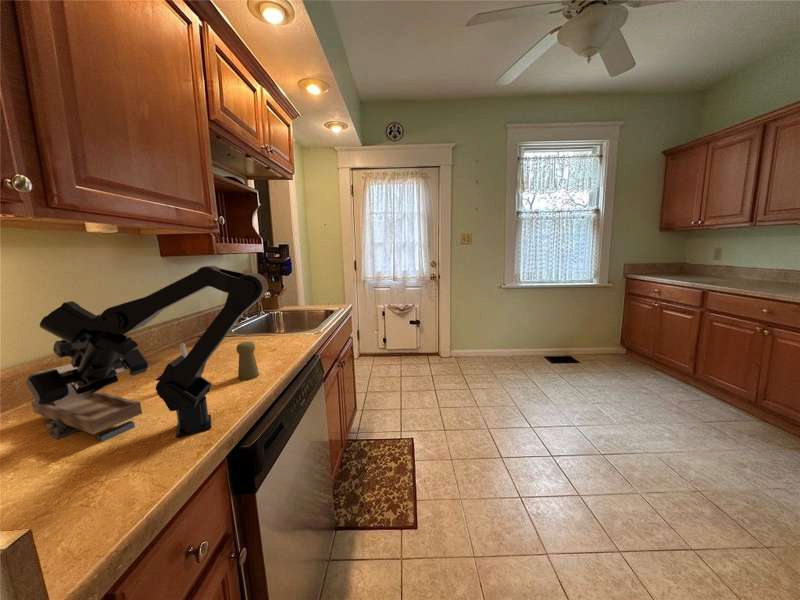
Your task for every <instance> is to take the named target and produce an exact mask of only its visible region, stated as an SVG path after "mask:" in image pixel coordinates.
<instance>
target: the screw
mask: <svg viewBox="0 0 800 600" xmlns="http://www.w3.org/2000/svg"><path fill="white" fill-rule="evenodd" d="M179 346H180V347H179V349H180V356H181V355H182V356H183V357H186V356H187V355H188V354H189V353H188V350H187V348H186V343H184V342H182V343H180V344H179Z"/></svg>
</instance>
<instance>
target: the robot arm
mask: <svg viewBox="0 0 800 600" xmlns="http://www.w3.org/2000/svg"><path fill="white" fill-rule="evenodd" d="M208 287H211V288H214V289H216V290H219V291H221V292H223V293H227V295H226V296H227V297H226V299H225V303H224V306H223V307H222V308H221V310H220V311H219V312H218V314H217V315H216V316H215V318H214V319H213V320H212V322H211V323H210V324H209V326H208V327H207V328H206V330H205V331H204V332H203V334H202V335H201V336H200V338H199V339H198V340H197V341H196V343H195V344H194V345H193V347H192V349H191V350H190V351H189V352H188V353H187V354H188V355H187V356H186V357H183V356H182V355H181V354H180V355H179V356H177V358H175V359H174V360H172V361H170V362H169V363H168V364H167V365H166V367H165V368H164V370H163V372H162V374H161V375H159V376H158V377H156V379H155V380H156V381H157V383H156V385H155V391H156V394H157V396H159V398H160V399H162V401H163V402H164V404H165V406H167V408H168V410H169V412H176V417H177V423H176V430H175V431H176V432H175V437H176V438H180V437H184V436H188V435H191V434H194V433H195V434H196V433H199V432H203V431H208V430H210V429H211V428H212V415H211V414H209V409H208V403H207V401H208V400H207V397H206V395H207V394H208V393H210V391H211V388H212V383H211V382H210V381H209V380H207V379H206V378H204V377H202V374H203V373H204V370H205V366H206V364H207V362H208V361H209V359H210V358H211V357H212V355H213V354H214V353H215V351H216V350H217V348H218V347H219V346H220V345H221V343H222V342H223V341H224V339H225V338H226V336H227V335H228V334H229V333H230V331H231V330H232V329H233V328H234V326H235V325H236V323H237V322H238V321H239V319H240V318H241V317H242V316H243V314H244V313H246V312H247V311H248V310H249V309H250V308H251V307H252V306H254V305H255V304H256V303H257V302H258V301H259V300H260V299H261V298H263V297H264V296H265V295H266V294H267V292H268V290H269V284H268V280H267V279H266V277H265V276H264V275H263V274H261V273H257V272H252V273H251V272H249V273H244V272H240V271H234V270H230V269H224V268H221V267H218V266H215V265H206V266H205V265H204V266H202V267H199V268H198V269H197V270H196V271H194V272H192V273H191V274H188V275H186V276H185V277H181V278H180V279H178V280H177V281H174V282H172V283H171V284H168V285H166V286H165V287H163V288H160V289H158V290H156V291H154V292H152V293H151V294H149V295H147V296H144V297H141V298H137V299H133V300H131V301H126V302H123V303H120V304H118V305H114V306H110V307H107V308H106V309H105V310H103V311H102V313H101V314H98V315H96V314H95V313H92V312H91V311H90V310H87V309H85V308H83V307H82V306H80V304H78V303H77V302H75V301H70V300H69V301H67V302H63V303H62V304H61V306H59V307H58V308H55V309H54V310H53V311H50V312H49V314H47V315H46V316H44V317H43V318H42V319H41V321H40V322H39V327H40V328H41V329H43V330H44V331H46V332H47V333H49V334H52V335H53V336H56V337H57V338H60V339H61V340H56V341H55V342H54V344H53V353H54V354H55V355H56V356H57V357H58V358H65V357H68V358H71V361H70V364H72V366H73V367H77V368H78V369H74V370H71V371H67V372H65V373H62V374H59V372H58V371H57V370H56V369H53V368H50V369H51V370H49V369H46V370H47V371H45V370H42V371H43V372H41V371H39V372H40V373H37V372H35V373H33V374H30V375H29V376H28V377H27V378H26V382H25V384H26V386H27V388H28V390H29V391H30V392H31V395H32V396H33V398H34V399H35V400H36V401H37V402H38V404H43V405H44V404H47V403H50V402H54V401H57V400H60V399H62V398H64V397H65V396H67V395H68V393H69V391H68V386H67V385H66V384H69V383H70V385H71V386H72V388H73V389H74V391H75V392H76V393H77V394H83V395H84V396H87V395H90V394H92V393H94V392H96V391H100V390H102V389H104V388H105V387H108V386H110V385H112V384H115V383H117V382H118V381H119V378H118V376H117V374H119V373H122V372H125V371H127V370H128V369H129V372H128V374H129V376H133V377H134V376H136V375H140V374H143V373H145V372H147V370H148V368H149V365H150V364H149V360H147V358H146V357H145V356H144V354H143V352H142V351H141V349H138V348H137V347H138V346H139V344H138V343H137V341H135V340H134V339H133V338H132V337H128V336H127V333H130V332H133V331H135V330H138V329H140V328H143V327H145V326H146V325H147V324H149V323H150V322H152V321H153V320H154V319H156V318H157V316H159V314H160V313H162V312H163V311H165V310H167V309H168V308H170V307H171V306H173V305H175V304H177V303H180V302H181V301H183V300H185V299H188V298H189V297H190V296H191V297H192V296H193V295H195V294H197V293H199V292H201V291H203V290H205V289H207V288H208Z"/></svg>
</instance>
